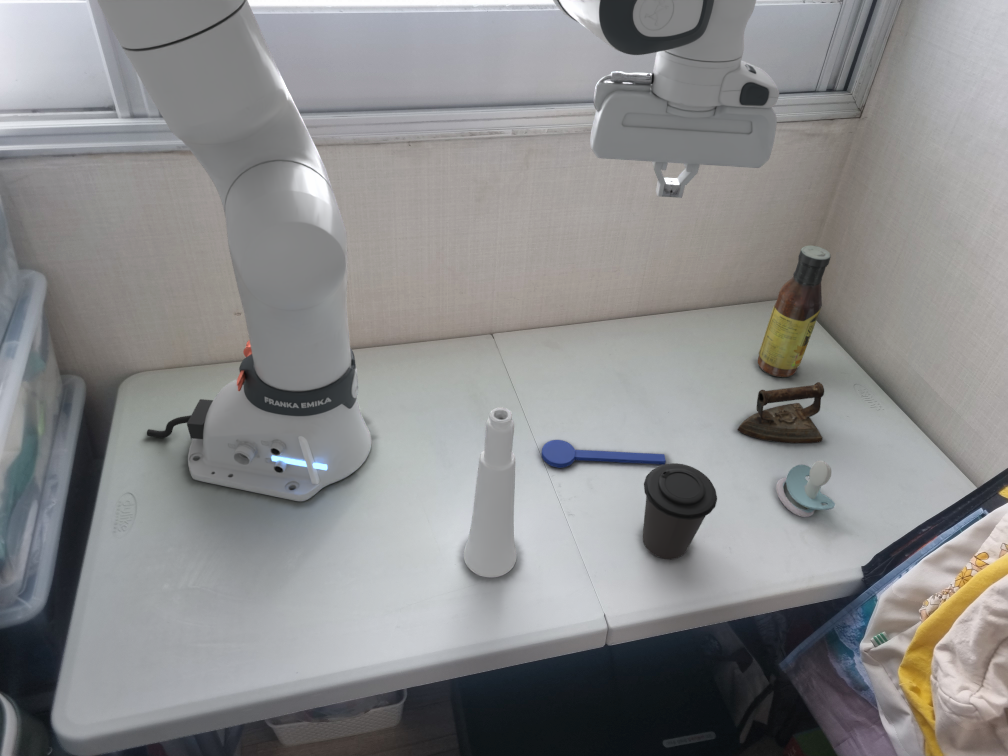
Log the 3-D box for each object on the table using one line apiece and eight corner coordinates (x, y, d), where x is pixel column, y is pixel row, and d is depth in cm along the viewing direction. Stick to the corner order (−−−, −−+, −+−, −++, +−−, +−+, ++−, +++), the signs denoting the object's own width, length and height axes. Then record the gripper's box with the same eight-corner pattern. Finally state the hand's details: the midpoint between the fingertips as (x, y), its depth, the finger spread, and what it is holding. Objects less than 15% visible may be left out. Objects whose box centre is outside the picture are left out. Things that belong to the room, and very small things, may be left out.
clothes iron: (825, 443, 106) (837, 397, 98) (746, 464, 106) (752, 419, 98) (803, 406, 110) (812, 359, 103) (727, 425, 110) (731, 380, 103)
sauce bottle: (799, 382, 115) (845, 269, 102) (757, 376, 116) (797, 262, 103) (793, 356, 120) (836, 244, 107) (753, 350, 121) (791, 238, 108)
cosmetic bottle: (502, 586, 84) (516, 445, 70) (454, 565, 86) (458, 423, 72) (524, 547, 89) (542, 406, 75) (478, 527, 90) (486, 386, 76)
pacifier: (790, 524, 94) (836, 519, 95) (804, 490, 90) (852, 485, 91) (766, 479, 99) (809, 475, 100) (778, 445, 95) (823, 441, 96)
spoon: (661, 449, 102) (663, 444, 102) (666, 473, 99) (668, 469, 99) (541, 442, 102) (541, 438, 101) (541, 467, 99) (542, 462, 98)
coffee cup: (633, 508, 94) (648, 451, 88) (700, 521, 93) (719, 464, 87) (627, 561, 88) (642, 503, 82) (698, 576, 87) (719, 519, 81)
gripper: (600, 80, 79) (583, 202, 88) (794, 93, 80) (758, 212, 89) (595, 60, 84) (579, 178, 93) (779, 72, 85) (746, 188, 94)
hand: (668, 195), depth 91 cm, fingers closed
